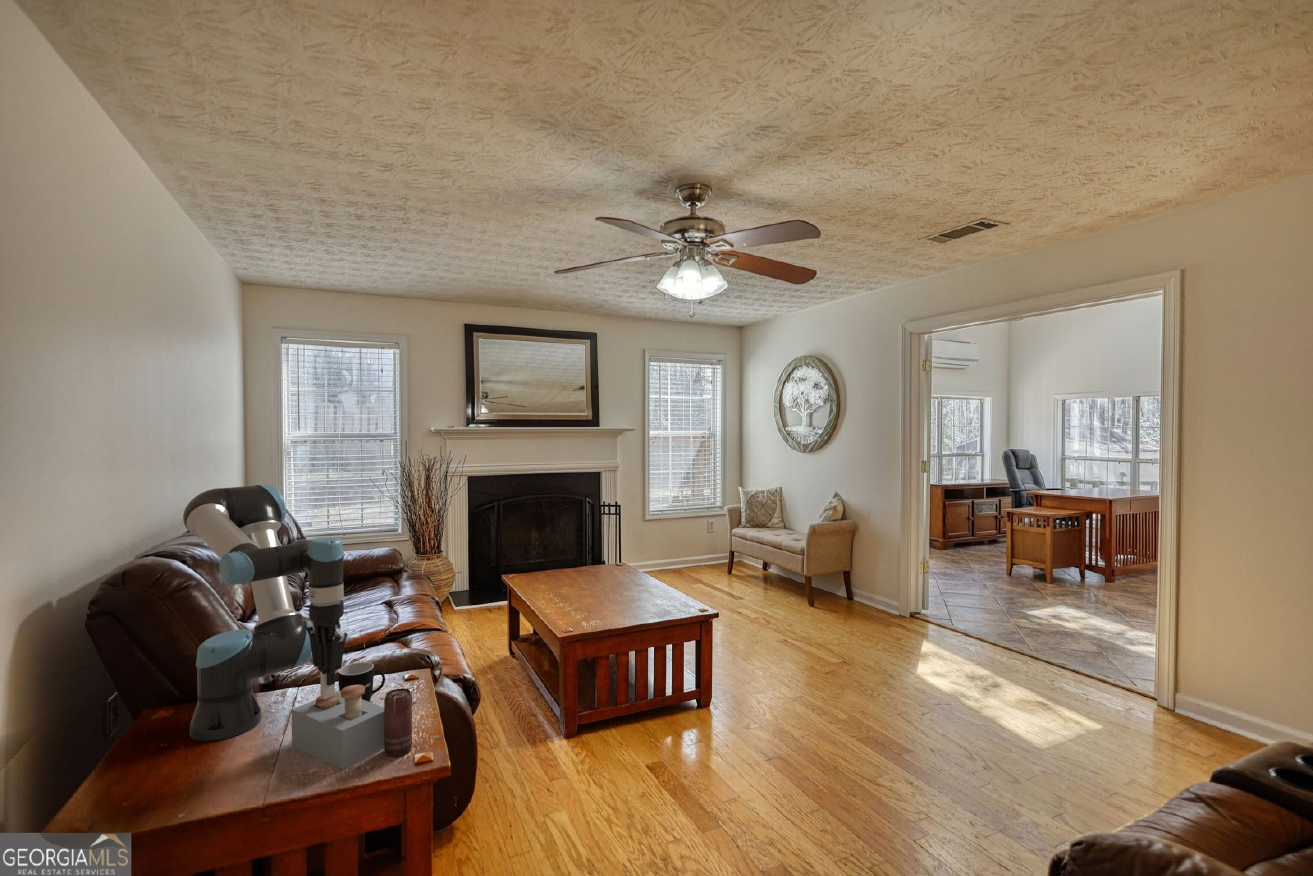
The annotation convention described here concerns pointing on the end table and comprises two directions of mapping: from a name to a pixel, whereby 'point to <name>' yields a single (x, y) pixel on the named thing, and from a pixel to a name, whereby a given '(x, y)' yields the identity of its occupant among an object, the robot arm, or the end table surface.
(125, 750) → the end table surface
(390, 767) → the end table surface
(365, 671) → the mug
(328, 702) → the peg
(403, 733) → the can
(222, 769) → the end table surface
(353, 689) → the peg
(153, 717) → the end table surface
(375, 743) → the socket block
